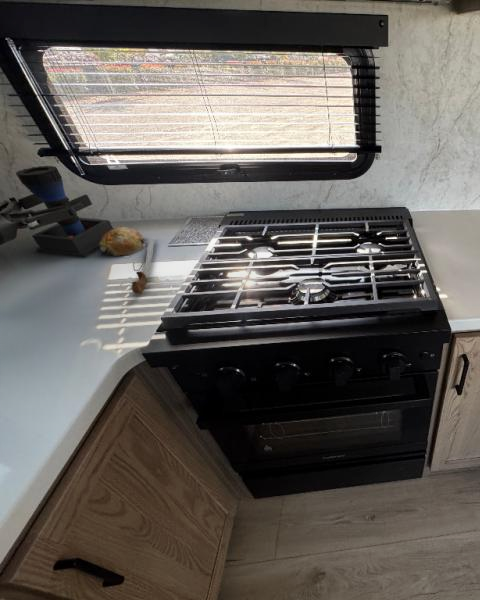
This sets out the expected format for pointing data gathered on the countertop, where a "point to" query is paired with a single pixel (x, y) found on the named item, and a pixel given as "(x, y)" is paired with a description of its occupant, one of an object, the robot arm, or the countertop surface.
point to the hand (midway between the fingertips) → (67, 197)
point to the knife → (143, 271)
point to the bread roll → (121, 241)
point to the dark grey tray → (73, 238)
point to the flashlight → (50, 192)
